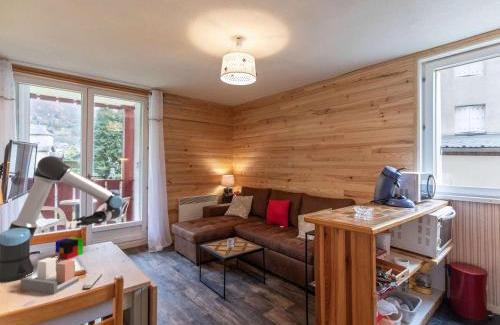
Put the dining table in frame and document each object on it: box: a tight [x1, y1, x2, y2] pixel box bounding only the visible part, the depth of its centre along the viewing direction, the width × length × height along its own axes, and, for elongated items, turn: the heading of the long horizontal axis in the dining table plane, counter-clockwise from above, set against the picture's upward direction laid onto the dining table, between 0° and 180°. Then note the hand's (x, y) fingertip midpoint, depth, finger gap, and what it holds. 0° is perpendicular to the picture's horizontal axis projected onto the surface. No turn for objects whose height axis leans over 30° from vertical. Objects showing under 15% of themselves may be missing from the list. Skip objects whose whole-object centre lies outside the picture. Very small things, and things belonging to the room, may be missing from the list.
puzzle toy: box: [54, 236, 84, 260], centre depth 159 cm, size 10×10×10 cm
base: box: [20, 275, 80, 295], centre depth 122 cm, size 13×18×5 cm
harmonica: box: [82, 273, 103, 291], centre depth 125 cm, size 15×3×2 cm, turn 11°
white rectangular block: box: [36, 257, 57, 280], centre depth 125 cm, size 6×5×9 cm
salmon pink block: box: [56, 259, 76, 283], centre depth 123 cm, size 6×5×9 cm
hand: (68, 225), depth 136 cm, fingers open, 3 cm apart
